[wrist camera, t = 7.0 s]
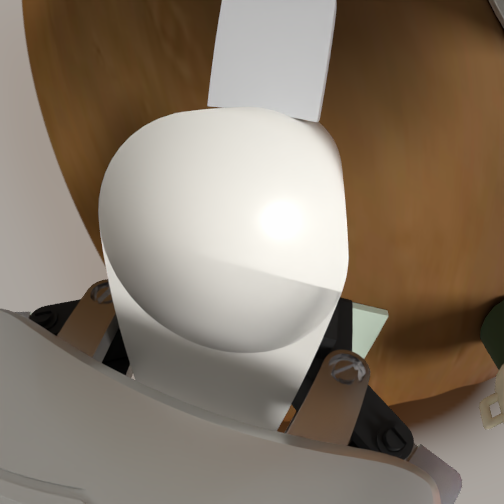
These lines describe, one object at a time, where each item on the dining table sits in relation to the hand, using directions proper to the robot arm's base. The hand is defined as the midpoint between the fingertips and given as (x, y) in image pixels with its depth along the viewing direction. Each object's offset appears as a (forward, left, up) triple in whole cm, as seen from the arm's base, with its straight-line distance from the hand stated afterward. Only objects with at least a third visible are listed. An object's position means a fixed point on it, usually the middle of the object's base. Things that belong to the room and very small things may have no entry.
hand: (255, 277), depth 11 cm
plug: (0, -1, -1) cm, 2 cm away
